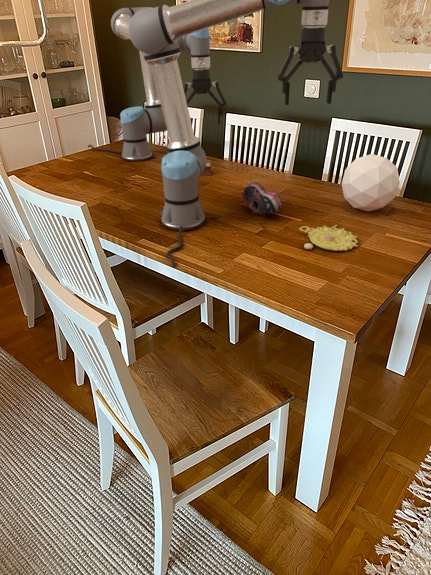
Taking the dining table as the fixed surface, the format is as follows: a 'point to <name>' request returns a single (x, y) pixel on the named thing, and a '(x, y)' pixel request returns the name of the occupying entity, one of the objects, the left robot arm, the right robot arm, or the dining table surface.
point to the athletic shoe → (261, 200)
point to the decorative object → (330, 238)
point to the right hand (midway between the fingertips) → (307, 103)
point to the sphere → (370, 182)
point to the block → (207, 170)
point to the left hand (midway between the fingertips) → (203, 123)
